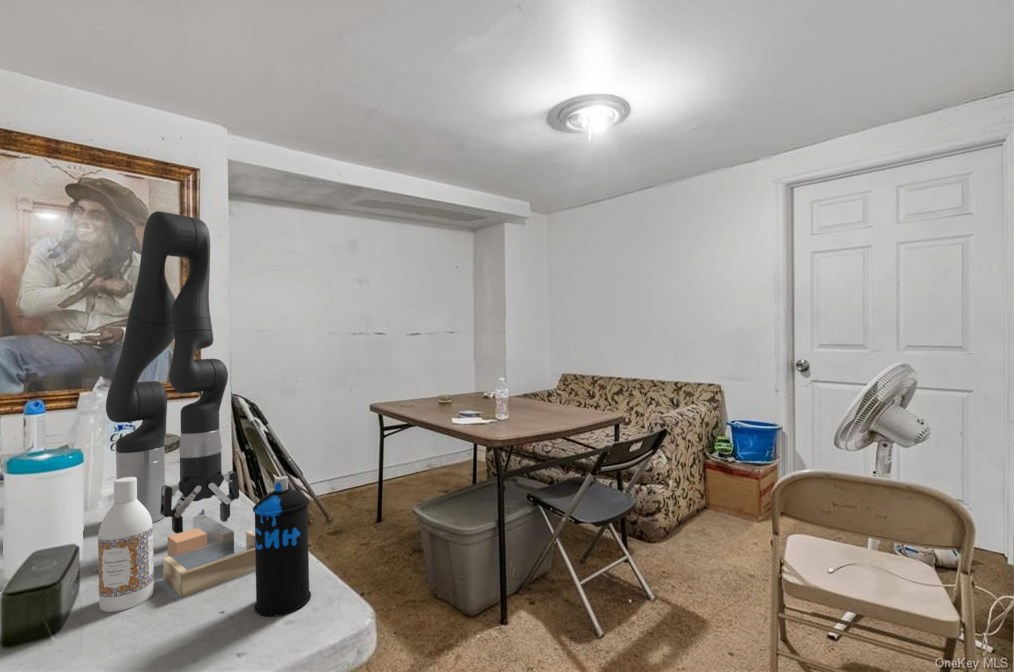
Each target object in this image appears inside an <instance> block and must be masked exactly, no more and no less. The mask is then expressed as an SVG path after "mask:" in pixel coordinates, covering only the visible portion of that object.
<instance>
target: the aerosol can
mask: <svg viewBox="0 0 1014 672" xmlns="http://www.w3.org/2000/svg"><path fill="white" fill-rule="evenodd" d="M273 482H274V490H273V491H272V492H270V493H268V494H265V495H264V496H263V497H261V498H260V500H258V501H257V503H256V504H255V505H254V506H253V507H252V511H253V513H254V532H255V556H256V572H255V605H254V610H255V613H256V614H258V615H260V616H263V617H279V616H284V615H288V614H291V613H293V612H295V611H298V610H300V609H301V608H303V607H304V606H305V605H307V604H308V602H309V601H310V600H311V597H312V592H311V591H310V564H309V562H310V561H309V518H308V517H309V516H308V515H309V513H308V511H309V509H308V508H309V507H308V505H309V503H310V499H309V497H307V496H306V495H304V494H303V493H302V492H300V491H298V490H297V489H296V490H295V489H290V488H289V478H288V476H287V475H286V476H285V475H280V476H277V477H275V478H274V481H273Z"/></svg>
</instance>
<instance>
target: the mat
mask: <svg viewBox="0 0 1014 672" xmlns="http://www.w3.org/2000/svg"><path fill="white" fill-rule="evenodd" d="M234 542H236V541H234ZM238 544H239V543H238ZM234 545H236V546H234V554H237V553H240V552H243V551H246V547H241V546H239V545H237V543H234ZM240 545H242V544H240ZM234 554H232V555H234ZM229 556H231V555H229ZM226 557H228V556H226ZM223 558H225V557H223ZM220 559H222V558H220ZM220 559H217V560H220ZM217 560H214V561H217ZM214 561H211V562H214ZM211 562H208V563H211ZM208 563H205V564H208ZM205 564H203V565H205ZM200 566H202V565H200ZM197 567H199V566H197ZM194 568H196V567H194ZM191 569H193V568H191ZM188 570H190V569H188ZM153 572H154V580H153V581H154V582H155V583H157V584H158V585H159V586H160V587H161V588H162V589H163V590H164V591H165V592H166V593H167V595H170V597H171V598H173V600H174V601H175V602H177V603H178V602H180V601H183V600H185V599H189V598H191V597H193V596H196V595H199V594H201V593H204V592H207V591H210V590H212V589H214V588H217V587H219V586H222V585H225V584H227V583H230V582H233V581H235V580H238V579H240V578H243V577H246V576H248V575H250V574H253V573H256V570H255V571H252V572H250V573H247V574H244V575H242V576H239V577H237V578H234V579H231V580H229V581H226V582H223V583H221V584H218V585H216V586H213V587H210V588H208V589H205V590H202V591H200V592H197V593H195V594H192V595H189V596H187V597H184V598H183V597H182V596H181V595H179V594H178V593H177V592H176V591H175V590H174V589H173V588H172V587H171V586H170V585H169V584H167V583H166V582H165V581H164V580H163V559H161V560H157V561H153Z"/></svg>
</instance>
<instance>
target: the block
mask: <svg viewBox="0 0 1014 672" xmlns="http://www.w3.org/2000/svg"><path fill="white" fill-rule="evenodd" d="M203 545H207V533H205V532H203V531H202V530H200V529H198V528H195V529H193V528H192V529H188V530H185V531H183V532H181V533H178V534H176V533H174V534H171V535H168V536H167V557H168V556H170V557H171V558H172V555H175V554H178V553H181V552H184V551H187V550H191V549H194V548H197V547H200V546H203Z"/></svg>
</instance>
